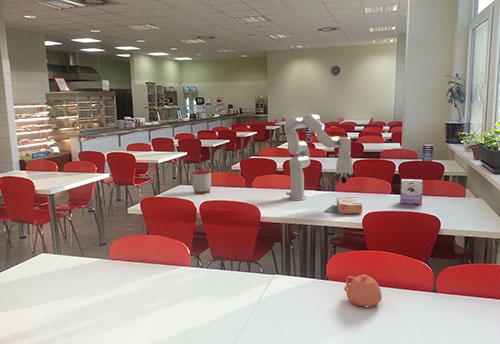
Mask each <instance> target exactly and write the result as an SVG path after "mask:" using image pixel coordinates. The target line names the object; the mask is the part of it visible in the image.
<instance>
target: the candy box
mask: <svg viewBox="0 0 500 344" xmlns="http://www.w3.org/2000/svg"><path fill="white" fill-rule="evenodd" d="M399 203H400V204H402V205H403V204H405V205H418V206H419V205H420V206H421V205H422V203H423V179H413V178H412V179H410V178H408V179H407V178H406V179H405V178H401V180H400V202H399Z"/></svg>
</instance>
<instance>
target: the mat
mask: <svg viewBox="0 0 500 344" xmlns="http://www.w3.org/2000/svg"><path fill="white" fill-rule="evenodd" d="M323 212H324V213H330V214H331V213H332V214H341V215H350V214H351V213H340V212H339V210H338V207H337V204H332V205H331V206H329V207H328V208H326V209H325V210H324V211H323Z"/></svg>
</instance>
